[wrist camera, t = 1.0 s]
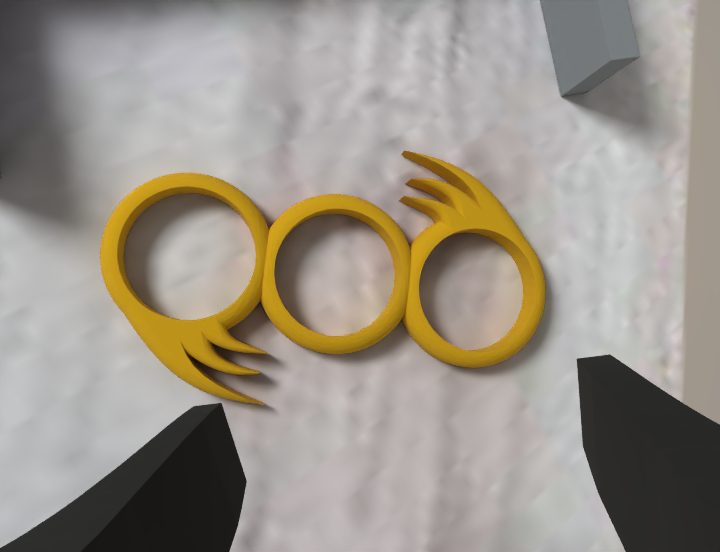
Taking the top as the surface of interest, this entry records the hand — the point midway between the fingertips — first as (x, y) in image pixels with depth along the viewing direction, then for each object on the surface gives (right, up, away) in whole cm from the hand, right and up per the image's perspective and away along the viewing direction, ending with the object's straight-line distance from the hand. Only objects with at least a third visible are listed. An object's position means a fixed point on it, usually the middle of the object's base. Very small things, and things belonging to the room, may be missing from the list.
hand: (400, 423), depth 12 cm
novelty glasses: (-2, +3, +11) cm, 12 cm away
